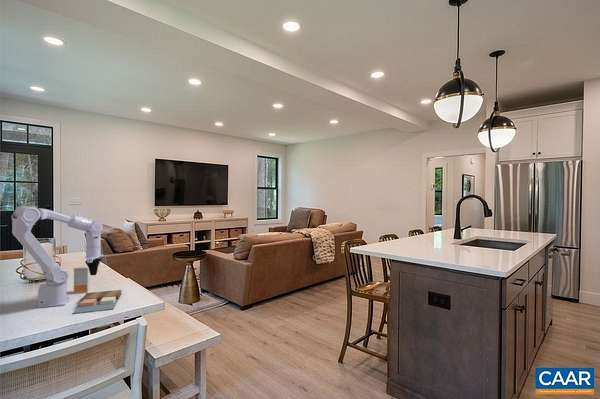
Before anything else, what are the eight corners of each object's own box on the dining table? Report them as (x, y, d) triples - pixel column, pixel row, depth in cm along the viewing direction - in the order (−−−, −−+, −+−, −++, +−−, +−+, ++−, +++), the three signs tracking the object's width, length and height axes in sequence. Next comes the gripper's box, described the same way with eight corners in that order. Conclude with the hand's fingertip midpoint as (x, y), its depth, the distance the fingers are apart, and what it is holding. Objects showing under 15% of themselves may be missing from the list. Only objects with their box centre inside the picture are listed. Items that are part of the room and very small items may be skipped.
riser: (81, 303, 135) (81, 299, 135) (86, 297, 143) (86, 292, 143) (118, 300, 140) (118, 295, 140) (121, 293, 148) (121, 289, 148)
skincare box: (73, 293, 148) (73, 268, 148) (77, 290, 152) (77, 266, 152) (87, 292, 150) (87, 267, 149) (91, 289, 154) (91, 265, 154)
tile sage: (100, 304, 133) (100, 301, 133) (102, 300, 138) (102, 297, 138) (113, 303, 135) (113, 300, 135) (115, 299, 139) (115, 296, 139)
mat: (72, 314, 124) (72, 313, 124) (81, 304, 135) (81, 303, 135) (113, 309, 129) (113, 308, 129) (118, 300, 140) (118, 299, 140)
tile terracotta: (79, 307, 130) (79, 303, 130) (83, 303, 135) (83, 299, 135) (93, 305, 132) (93, 302, 132) (96, 301, 136) (96, 298, 136)
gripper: (99, 248, 141) (99, 278, 141) (106, 243, 154) (106, 270, 155) (81, 249, 138) (81, 279, 139) (89, 244, 152) (89, 271, 152)
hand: (93, 274), depth 147 cm, fingers closed
